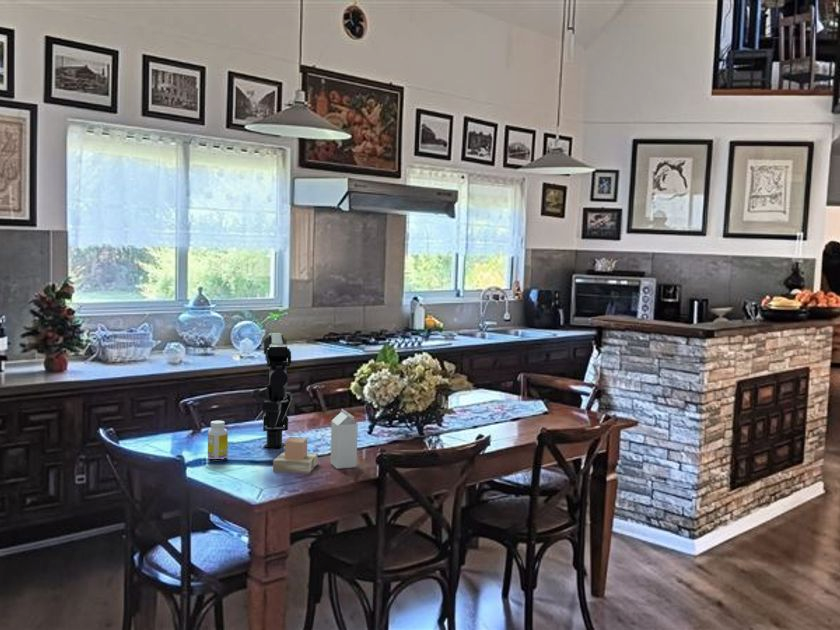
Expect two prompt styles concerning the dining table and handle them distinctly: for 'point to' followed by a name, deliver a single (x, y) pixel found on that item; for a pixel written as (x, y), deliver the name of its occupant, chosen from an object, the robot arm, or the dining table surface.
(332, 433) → the milk carton
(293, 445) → the tan cube
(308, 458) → the birch block
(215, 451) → the supplement bottle
